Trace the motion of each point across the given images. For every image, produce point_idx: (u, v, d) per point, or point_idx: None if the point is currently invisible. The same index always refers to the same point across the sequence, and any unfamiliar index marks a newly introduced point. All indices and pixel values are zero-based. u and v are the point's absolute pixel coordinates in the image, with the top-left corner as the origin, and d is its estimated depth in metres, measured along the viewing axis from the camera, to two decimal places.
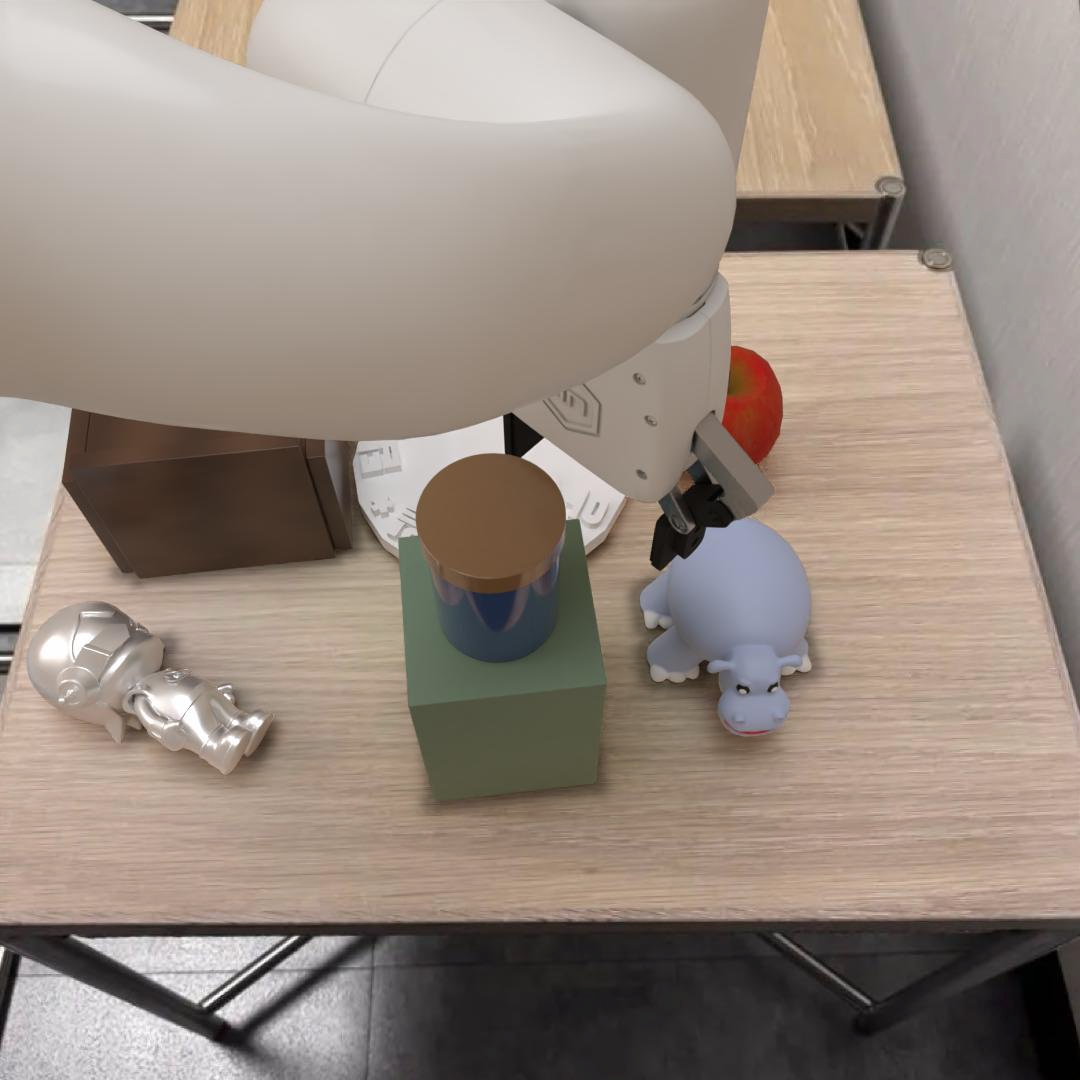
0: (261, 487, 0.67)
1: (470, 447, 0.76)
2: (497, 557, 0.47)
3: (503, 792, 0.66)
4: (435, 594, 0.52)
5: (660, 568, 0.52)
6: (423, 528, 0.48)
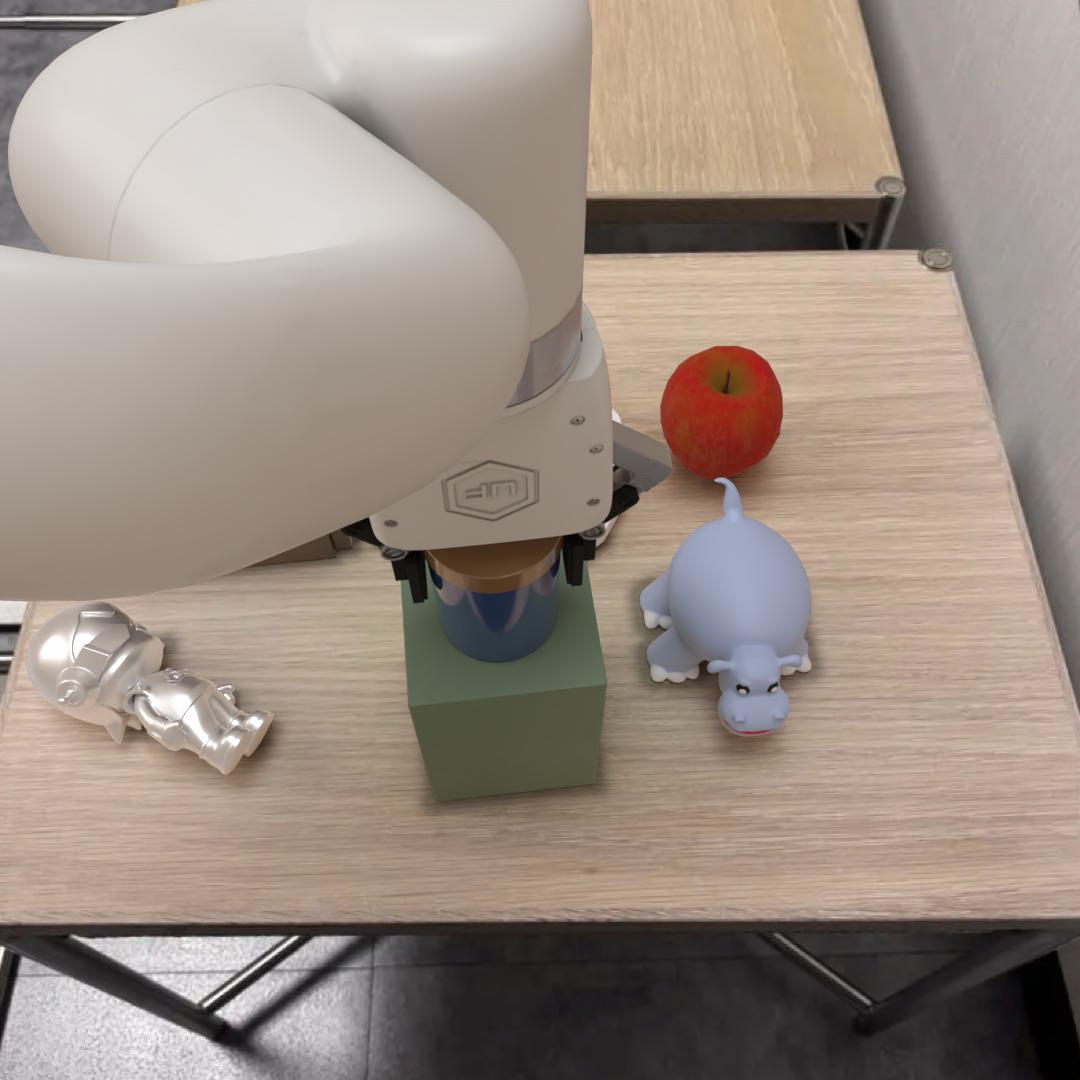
0: None
1: None
2: (497, 557, 0.47)
3: (503, 792, 0.66)
4: (435, 594, 0.52)
5: (581, 582, 0.52)
6: None
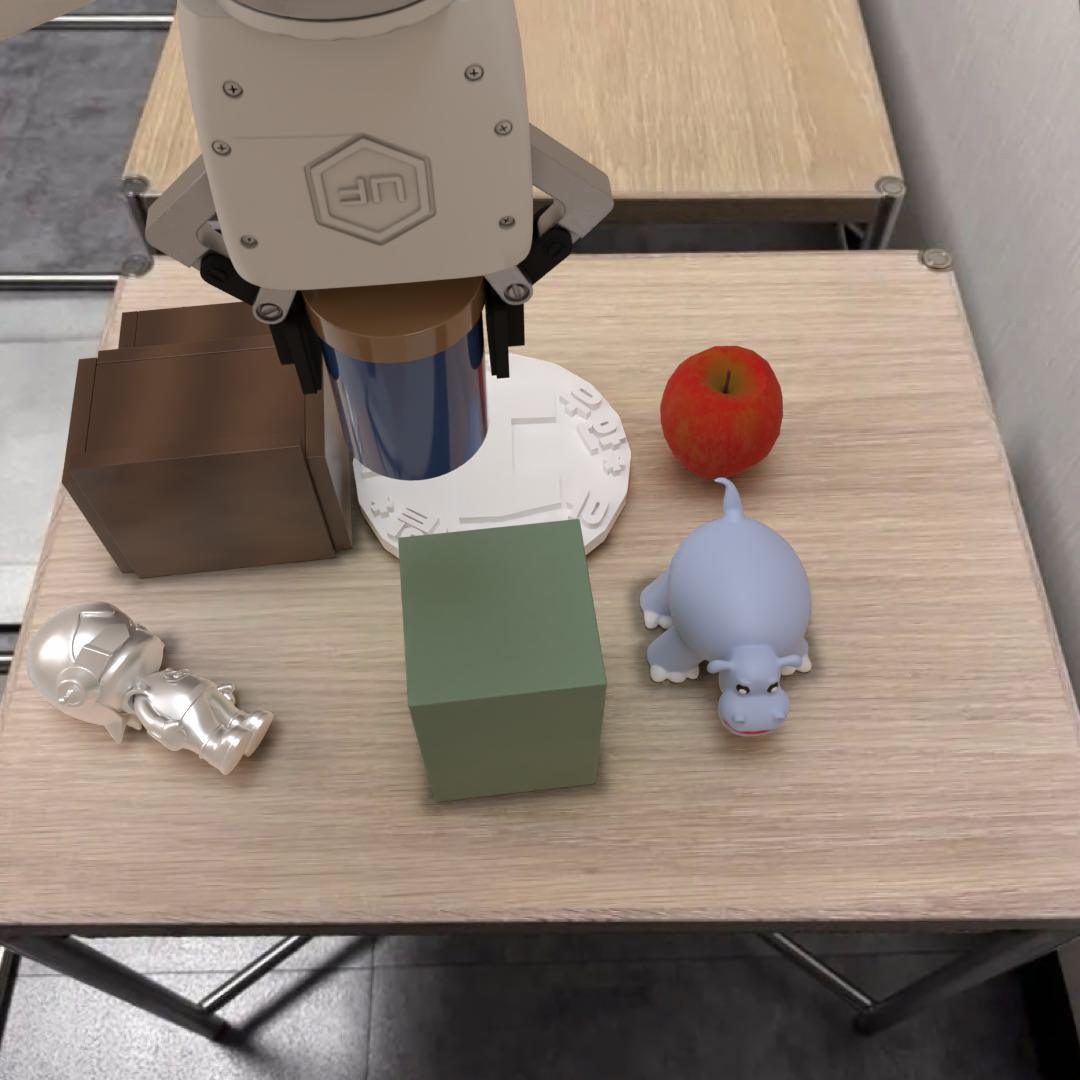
0: (261, 487, 0.67)
1: None
2: (395, 314, 0.38)
3: (503, 792, 0.66)
4: (332, 386, 0.43)
5: None
6: None
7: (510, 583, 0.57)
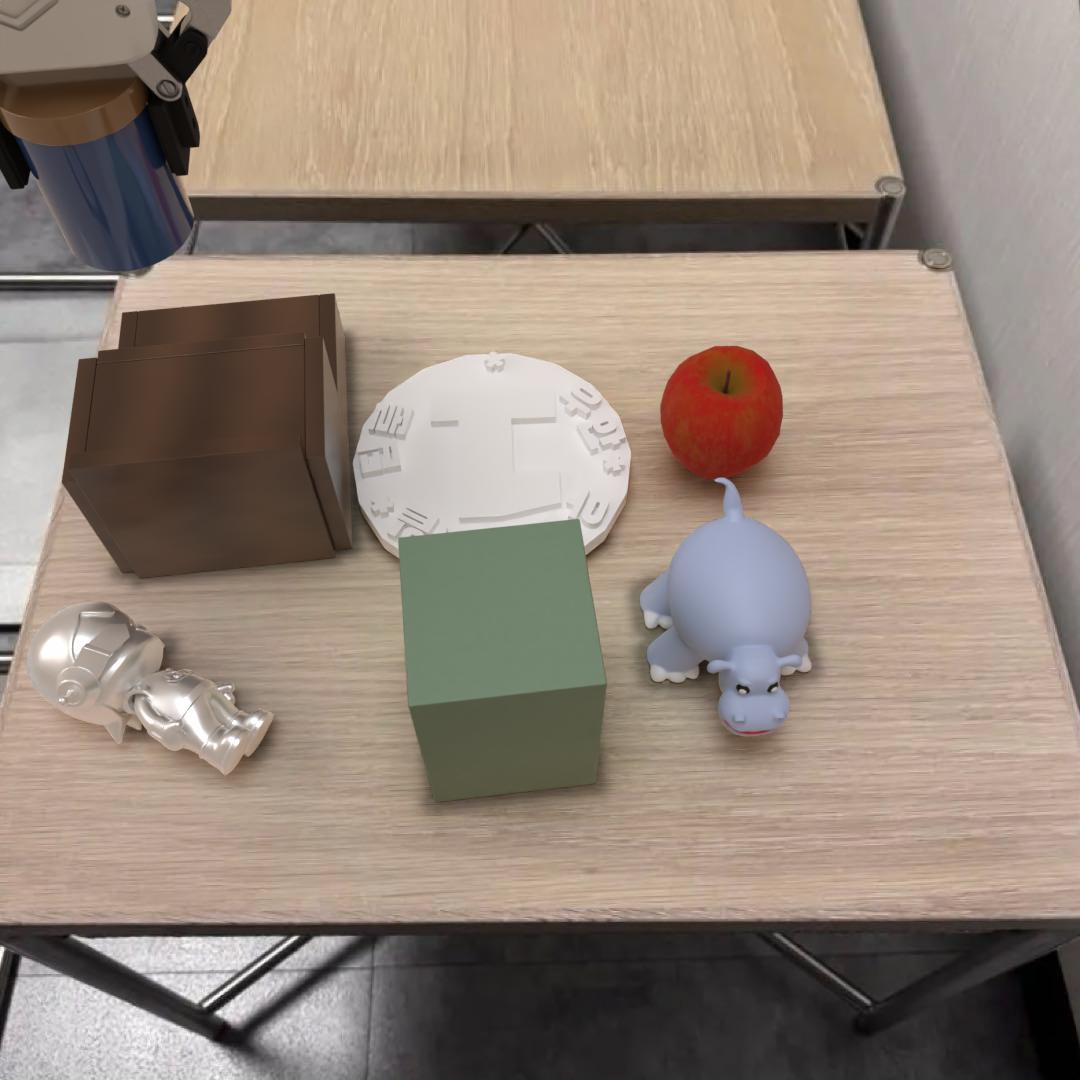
0: (261, 487, 0.67)
1: (469, 447, 0.76)
2: (59, 102, 0.46)
3: (503, 792, 0.66)
4: None
5: (185, 171, 0.51)
6: None
7: (510, 583, 0.57)
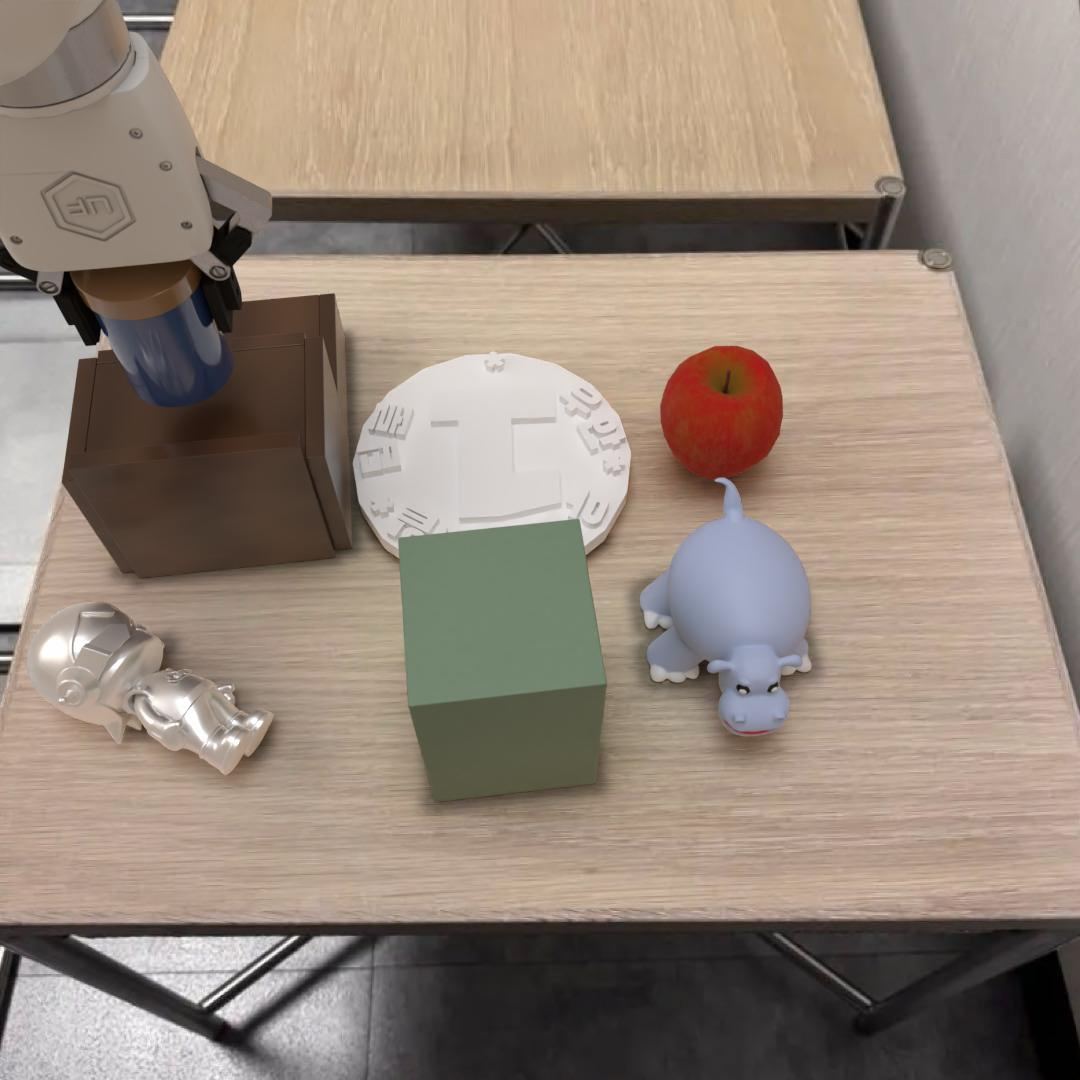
0: (261, 487, 0.67)
1: (469, 447, 0.76)
2: (130, 287, 0.56)
3: (503, 792, 0.66)
4: None
5: (230, 329, 0.61)
6: None
7: (510, 583, 0.57)
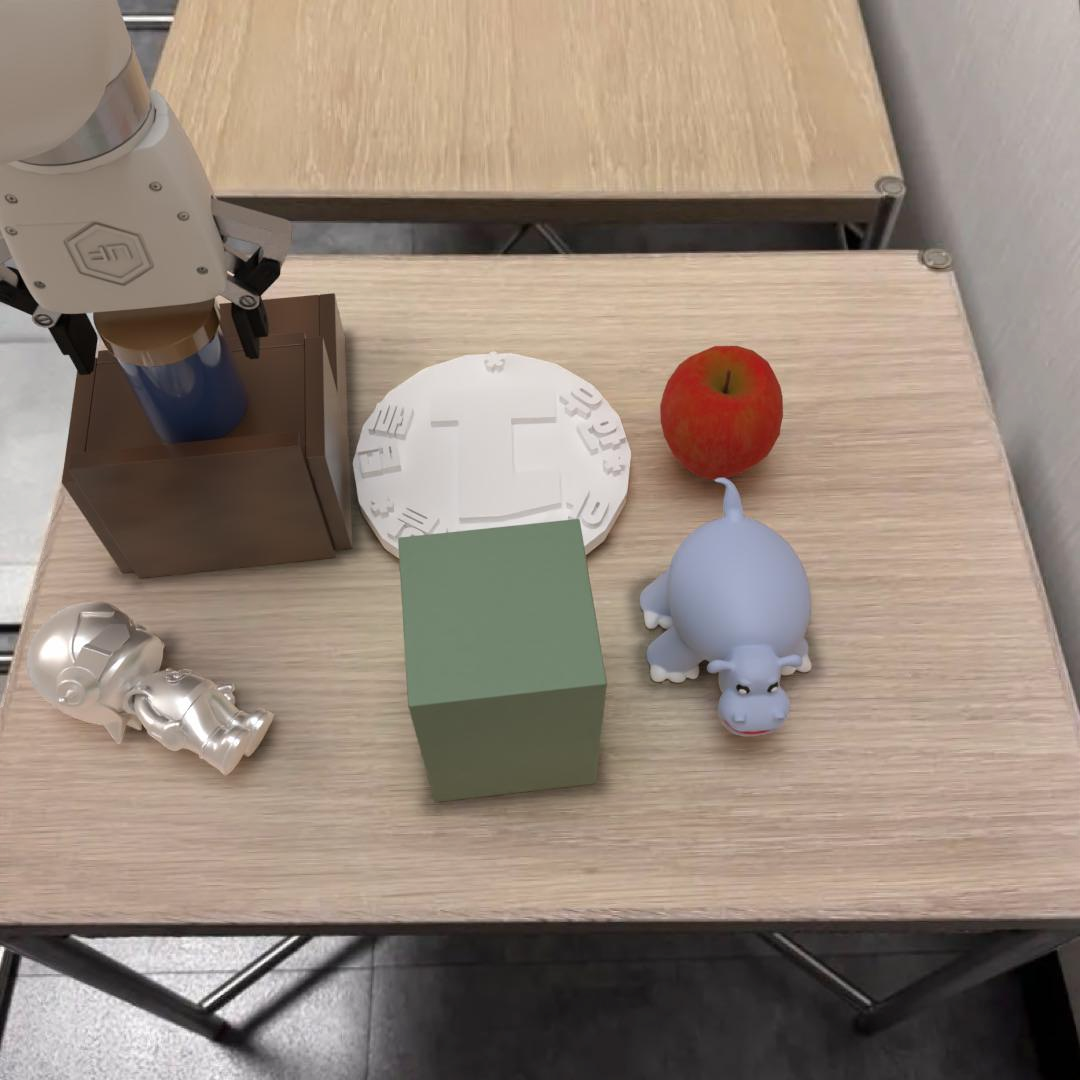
0: (261, 487, 0.67)
1: (469, 447, 0.76)
2: (152, 335, 0.59)
3: (503, 792, 0.66)
4: None
5: (258, 355, 0.63)
6: (98, 315, 0.60)
7: (510, 583, 0.57)
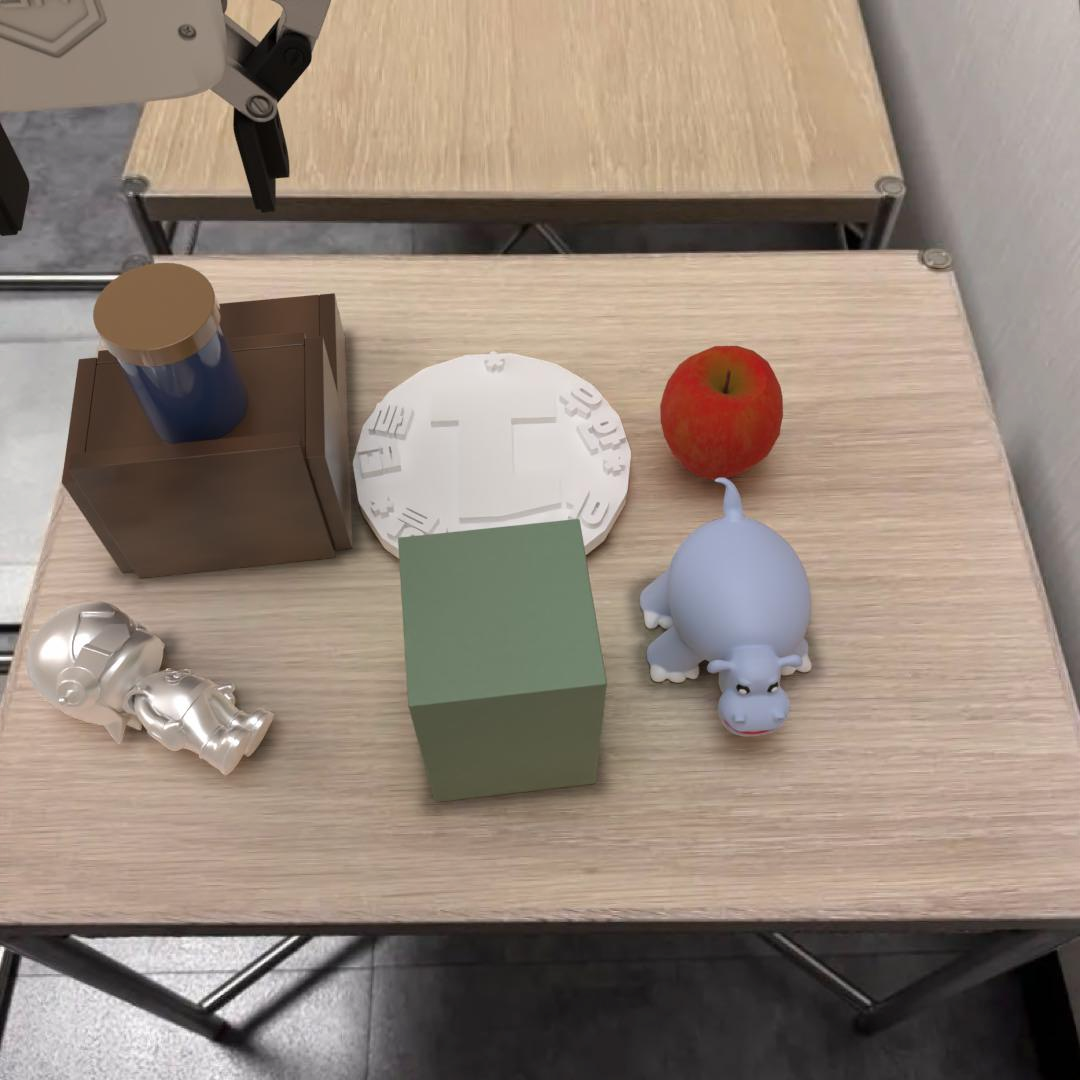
0: (261, 487, 0.67)
1: (469, 447, 0.76)
2: (152, 335, 0.59)
3: (503, 792, 0.66)
4: None
5: (274, 207, 0.41)
6: (98, 315, 0.60)
7: (510, 583, 0.57)
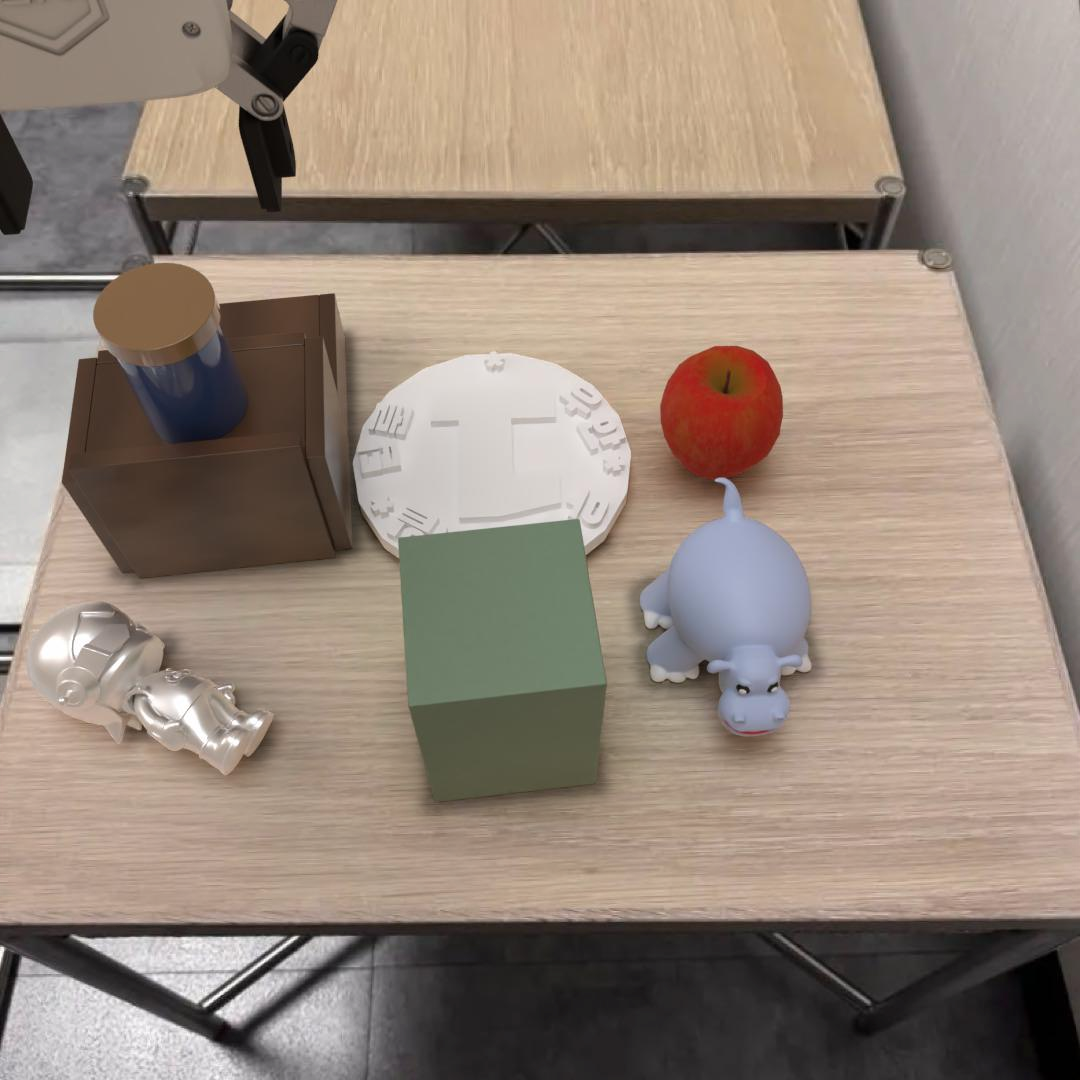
0: (261, 487, 0.67)
1: (469, 447, 0.76)
2: (152, 335, 0.59)
3: (503, 792, 0.66)
4: None
5: (279, 206, 0.41)
6: (98, 315, 0.60)
7: (510, 583, 0.57)
